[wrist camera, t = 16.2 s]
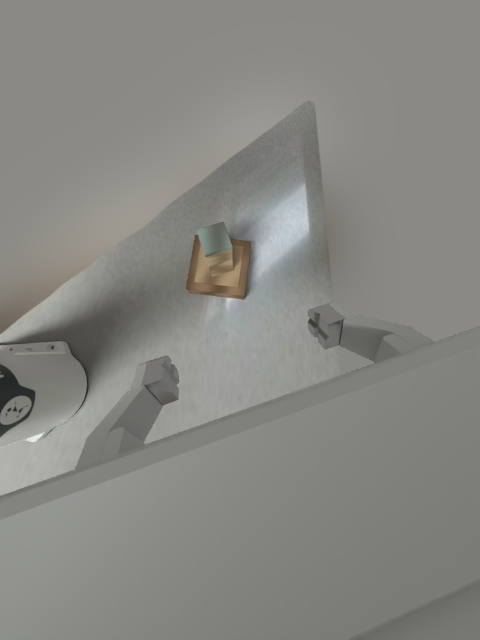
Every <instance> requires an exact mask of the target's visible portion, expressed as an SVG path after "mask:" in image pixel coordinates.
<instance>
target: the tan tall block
mask: <svg viewBox="0 0 480 640" xmlns="http://www.w3.org/2000/svg"><path fill="white" fill-rule="evenodd" d="M196 230H197V233H198V236H199V240H200V243H201V246H202V249H203V252H204V255H205V257H206V260H207V263H208V266H209V270H210V273H211V276H212V277H213V276H216V275H220V274H223V273H226V272H230V271H233V260H232V250H233V249H232V244H231V241H230V238H229V236H228V233H227V230H226V227H225V224H224V222H221V223H218V224H214V225H210V226H207V227H203V228H200V229H196Z"/></svg>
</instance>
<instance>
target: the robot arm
mask: <svg viewBox="0 0 480 640" xmlns="http://www.w3.org/2000/svg"><path fill="white" fill-rule="evenodd" d="M308 316H309V317H310V319H309V321H308V328H309V331H310V332H311V334H312V335H313V336H314V337H316V338H318V342H319V343H320V344H321V345H322V347H323V348H324V349H328V348H331V347H335V346H338V345H340V346H341V347H343V348H346V349H348V350H350V351H352V352H355V353H357V354H359V355H361V356H363V357H365V358H367V359H369V360H372V361H374V364H371V365H368V366H366V367H363V368H360V369H357V370H354V371H351V372H349V373H346V374H343V375H340V376H337V377H335V378H332V379H329V380H326V381H323V382H320V383H318V384H315V385H312V386H309V387H306V388H304V389H301V390H298V391H295V392H292V393H290V394H287V395H284V396H281V397H278V398H275V399H273V400H270V401H267V402H264V403H261V404H258V405H256V406H253V407H250V408H247V409H244V410H242V411H239V412H236V413H233V414H230V415H227V416H225V417H222V418H219V419H216V420H213V421H210V422H208V423H205V424H202V425H199V426H196V427H194V428H191V429H188V430H185V431H182V432H179V433H177V434H174V435H171V436H168V437H165V438H162V439H160V440H157V441H154V442H151V443H148V444H144V443H143V442H144V441H145V439H146V437H147V435H148V433H149V431H150V429H151V428H152V426H153V424H154V422H155V420H156V418H157V416H158V415H159V413H160V411H161V409H162V407H163V405H165V404H168V403H171V402H173V401H176V400H178V397H179V388H178V387H177V384H178V382H179V375H178V371H177V368H176V367H175V365H172V364H171V359H170V358H169V356H164V357H160V358H157V359H154V360H150V361H148V362H144V363H141V364H139V365H138V366H137V369H136V372H135V376H134V380H133V383H132V387H131V390H130V391H127V393H126V394H125V395H124V396H123V397H122V398H121V400H120V401H119V402H118V403H117V404H116V405H115V406H114V408H113V409H112V410H111V411H110V412H109V413H108V415H107V416H106V417H105V418H104V419H103V420H102V422H101V423H100V424H99V425H98V426H97V427H96V428H95V430H94V431H93V432H92V433H91V434H90V435H89V437H88V438H87V440H86V443H85V445H84V448H83V450H82V453H81V455H80V458H79V461H78V463H77V466H76V468H75V470H72V471H69V472H67V473H64V474H61V475H58V476H55V477H52V478H50V479H47V480H44V481H41V482H38V483H36V484H33V485H30V486H27V487H24V488H21V489H19V490H16V491H13V492H10V493H7V494H5V495H2V496H0V640H480V326H479V327H476V328H473V329H470V330H467V331H464V332H461V333H459V334H456V335H453V336H450V337H447V338H445V339H442V340H439V341H436V342H435V341H433V340H432V339H430V338H428V337H427V336H425V335H423V334H422V333H420V332H419V331H417V330H415V329H414V328H412V327H410V326H405V325H401V324H397V323H392V322H388V321H383V320H379V319H375V318H370V317H366V316H361V315H354V314H353V313H351V312H350V311H349V310H347V309H346V308H344V307H343V306H342V305H340V304H339V303H337V302H336V301H332V302H329V303H327V304H324V305H321V306H318V307H315V308H312V309H309V311H308ZM86 389H87V379H86V374H85V371H84V369H83V367H82V365H81V364H80V363H79V361H78V360H77V359H76V358H74V357H73V355H72V354H71V351H70V349H69V346H68V344H67V343H66V342H64V341H55V342H41V343H27V344H13V345H0V448H2V447H5V446H8V445H11V444H14V443H17V442H19V441H22V440H27V441H29V442H35V441H38V440H41V439H42V438H44V437H45V436H46V435H47V434H48V433H49V432H50V431H51V429H53V428H54V427H56V426H58V425H60V424H62V423H64V422H65V421H67V420H68V419H70V418H71V417H72V416H73V415H74V414H75V413H76V412H77V410H78V409H79V408H80V406H81V404H82V402H83V400H84V398H85V394H86Z"/></svg>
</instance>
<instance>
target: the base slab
mask: <svg viewBox="0 0 480 640" xmlns="http://www.w3.org/2000/svg"><path fill="white" fill-rule="evenodd" d="M230 241H231V244H232V249H233V250H232V260H233V271H230V272H226V273H223V274H220V275H216V276H213V277H212V276H211V273H210V270H209V266H208V263H207V260H206V257H205V255H204V252H203V249H202V246H201V243H200V240H199V236H198V235H195V240H194V246H193V252H192V258H191V263H190V269H189V275H188V281H187V286H186V289H187V290H188V291H189V292H190V293H196V294H204V295H212V296H220V297H228V298H236V299H244V297H245V290H246V281H247V273H248V265H249V257H250V248H251V242H250V241H242V240H234V239H230Z"/></svg>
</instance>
